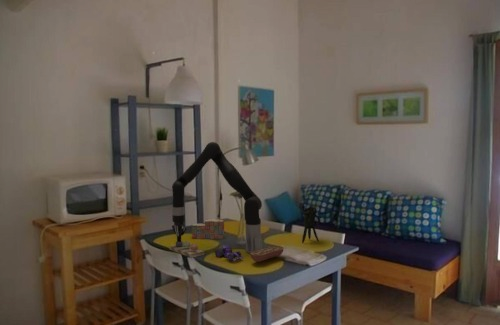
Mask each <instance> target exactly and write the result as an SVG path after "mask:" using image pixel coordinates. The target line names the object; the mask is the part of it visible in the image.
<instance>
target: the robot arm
mask: <svg viewBox="0 0 500 325" xmlns="http://www.w3.org/2000/svg"><path fill="white" fill-rule="evenodd" d="M210 160H211V161H213V163H214V164H215V165H216V166H217V167H218V169H219V172H220V174H222V177H223V178H224V179H225V181H226V182H227V184H228V185H229V186H230V188H232V189H233V190H235V191H236V192H237V193H239V194H240V196H241V197H242V199H243V200H244V204H243V206H244V207H243V208H244V210H243V212H244V213H243V215H244V221H245V252H246V253H248V254H250V253H251V252H252V251H255V250H257V249H261V248H263V236H262V232H261V231H262V230H261V229H262V228H261V222H262V221H261V218H260V210H261V208H262V206H263V204H262V200H261V198H260V197H259V196H258V195H257V194H256V193H255V192H254V191H253V190H252V189H251V187H250V186H249V185H248V183H247V181H245V179H244V177H243V176H242V174H241V173H240V172H239V171H238V169H237V168H236V167H235V166H234V165H233V164H232V163H231V162H230V161H229V160H228V159H227V158H226V156H225V154H224V153H223V150H222V149H221V147H220V145H219V144H218V143H217V142H215V141H210V142H209V143H207V144H206V145H205V147H204V149H203V150H202V152H201V153H200V154H199V156H198V157H197V158H196V159H195V161H193V163H192V164H190V166H189V167H188V168H187V169H186V170H185V171H184V172H183V173H182V174H181V175H180V176H179V177H178V178H177V179H176V180H175V181H174V182H173V183H172V185H171V187H172V188H171V190H172V209H171V210H172V211H171V212H172V213H171V214H172V215H171V217H172V220H171V221H172V222H173V225H171V228H172V231H173V234H174V235H175V236H176V242H181V241H182V236H184V235H185V233H186V230H187V228H186V227H185V224H184V222H185V221H186V218H185V217H186V213H185V212H186V210H185V199H184V198H185V188H186V187H187V185H188V184H190V183H191V182H192V181H194V179H195V178H196V177H197V176H198V175H199V174H200V173H201V171H202V169H203V168H204V167H205V165H206V164H207V163H208V162H209V161H210Z"/></svg>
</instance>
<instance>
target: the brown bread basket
mask: <svg viewBox="0 0 500 325" xmlns="http://www.w3.org/2000/svg"><path fill="white" fill-rule="evenodd" d="M283 252H284V246H281V245H270V246H266V247H262V248H261V249H257V250H255V251H252V252H251V253H249V254H250V258H251V259H252V260H253V261H254V262H256V263H261V262H263V261H266V260H269V259H272V258H276V257H280V256H281V255H282V254H283Z"/></svg>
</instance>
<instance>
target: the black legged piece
mask: <svg viewBox="0 0 500 325" xmlns="http://www.w3.org/2000/svg"><path fill="white" fill-rule="evenodd" d="M305 207H306V206H305V204H304V203H302V204H301V205H300V208H301V211H302V213H303V214H304V218H303V219H304V220H303V225H304V228H303V234H302V239H301V243H302V244H304V243H305V241H306V240H305V239H306V237H308V240H311V236H312V231H313V234H314V235H313V236H314V237H315V238H316V241H317V242H318V243H320V241H319V237H318V234H317V232H316V228H315V227H316V225H318V224H320V222H321V219H320V217H319V216H318V215H317V213H318V210H317V206H316V205H314V204H313V205H311V206H308V207H307V208H305ZM315 218H317V221H316V220H315ZM315 221H316V222H315ZM307 235H308V236H307Z"/></svg>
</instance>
